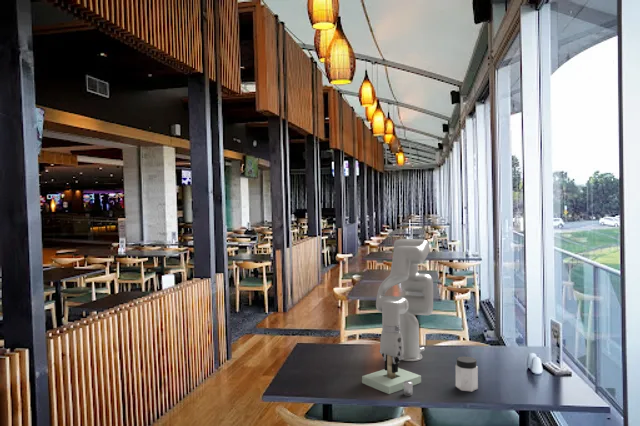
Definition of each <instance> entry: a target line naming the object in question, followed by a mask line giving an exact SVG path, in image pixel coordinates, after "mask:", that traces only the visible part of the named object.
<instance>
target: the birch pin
mask: <svg viewBox="0 0 640 426" xmlns="http://www.w3.org/2000/svg"><path fill="white" fill-rule="evenodd" d="M392 363H393V359H392V356H390V355H387V378H390V379H394V378H395V373H392Z"/></svg>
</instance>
